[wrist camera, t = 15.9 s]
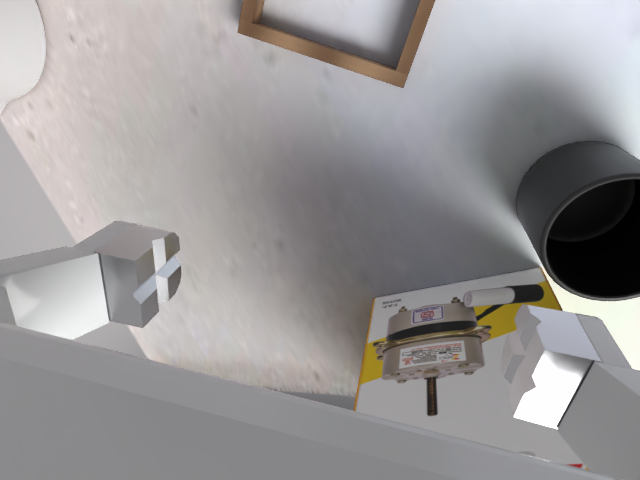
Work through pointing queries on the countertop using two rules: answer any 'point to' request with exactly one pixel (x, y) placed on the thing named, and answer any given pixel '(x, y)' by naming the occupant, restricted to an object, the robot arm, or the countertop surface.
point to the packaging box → (455, 362)
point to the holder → (397, 77)
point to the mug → (585, 219)
